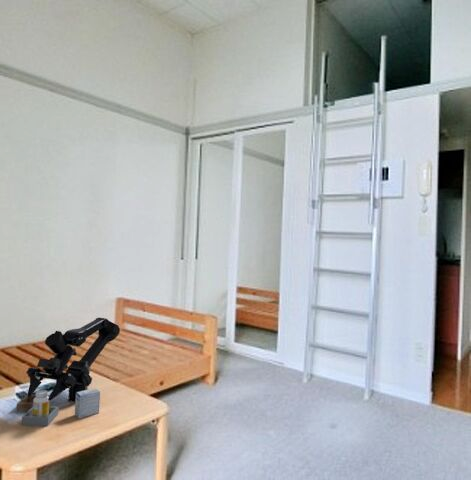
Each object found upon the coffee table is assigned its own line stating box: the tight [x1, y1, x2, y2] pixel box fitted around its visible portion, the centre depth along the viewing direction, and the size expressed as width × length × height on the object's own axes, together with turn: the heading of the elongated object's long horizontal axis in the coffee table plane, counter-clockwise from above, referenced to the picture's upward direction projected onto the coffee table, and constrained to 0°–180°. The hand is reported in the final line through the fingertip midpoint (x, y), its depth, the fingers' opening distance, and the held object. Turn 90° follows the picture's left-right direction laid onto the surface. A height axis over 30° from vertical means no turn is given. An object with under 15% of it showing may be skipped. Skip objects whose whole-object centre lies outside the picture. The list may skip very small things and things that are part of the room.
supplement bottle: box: [33, 389, 50, 417], centre depth 150 cm, size 5×5×10 cm
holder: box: [16, 394, 50, 412], centre depth 160 cm, size 9×9×3 cm
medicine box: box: [74, 387, 101, 419], centre depth 156 cm, size 8×4×9 cm, turn 134°
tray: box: [21, 406, 59, 427], centre depth 150 cm, size 9×9×3 cm
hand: (38, 398), depth 148 cm, fingers open, 9 cm apart
